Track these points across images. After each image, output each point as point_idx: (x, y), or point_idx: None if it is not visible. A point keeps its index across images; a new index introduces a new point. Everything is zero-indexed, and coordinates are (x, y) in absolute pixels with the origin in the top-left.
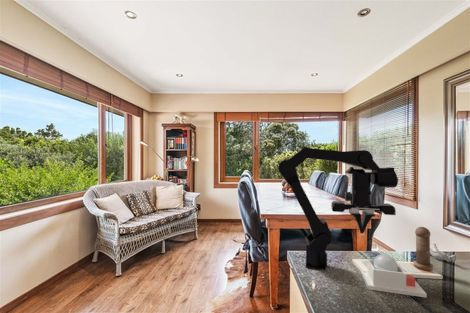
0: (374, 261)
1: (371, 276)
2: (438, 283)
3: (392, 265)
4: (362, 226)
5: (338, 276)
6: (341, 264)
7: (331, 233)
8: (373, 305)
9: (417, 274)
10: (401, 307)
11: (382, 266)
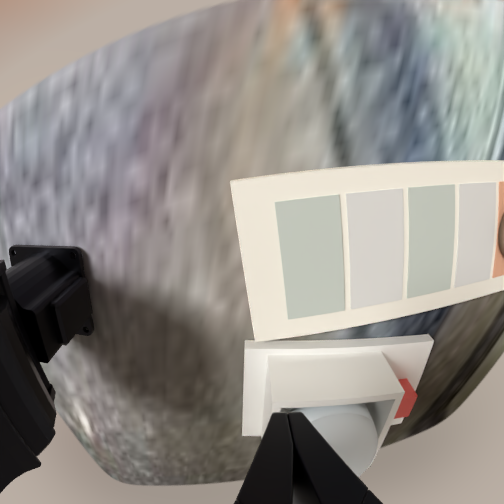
0: None
1: (263, 427)
2: (490, 315)
3: None
4: (295, 501)
5: (146, 370)
6: (161, 242)
7: (37, 461)
8: (236, 475)
9: (468, 299)
10: None
11: None
